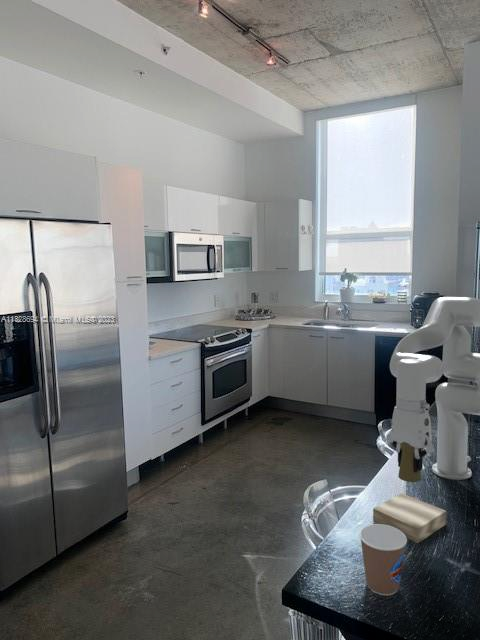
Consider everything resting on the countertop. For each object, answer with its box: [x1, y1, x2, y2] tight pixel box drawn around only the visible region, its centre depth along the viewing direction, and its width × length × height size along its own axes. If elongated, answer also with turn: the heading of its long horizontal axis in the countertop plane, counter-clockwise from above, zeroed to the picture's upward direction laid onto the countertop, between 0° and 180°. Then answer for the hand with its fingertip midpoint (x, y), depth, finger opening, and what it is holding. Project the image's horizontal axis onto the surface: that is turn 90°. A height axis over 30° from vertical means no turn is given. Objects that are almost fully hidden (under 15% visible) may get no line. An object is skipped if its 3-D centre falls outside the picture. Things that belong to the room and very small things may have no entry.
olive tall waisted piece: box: [398, 442, 422, 483], centre depth 133 cm, size 6×6×11 cm
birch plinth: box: [372, 492, 447, 544], centre depth 135 cm, size 14×14×4 cm
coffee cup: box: [358, 523, 408, 596], centre depth 109 cm, size 10×10×12 cm
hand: (409, 467), depth 133 cm, fingers closed on olive tall waisted piece, 4 cm apart
